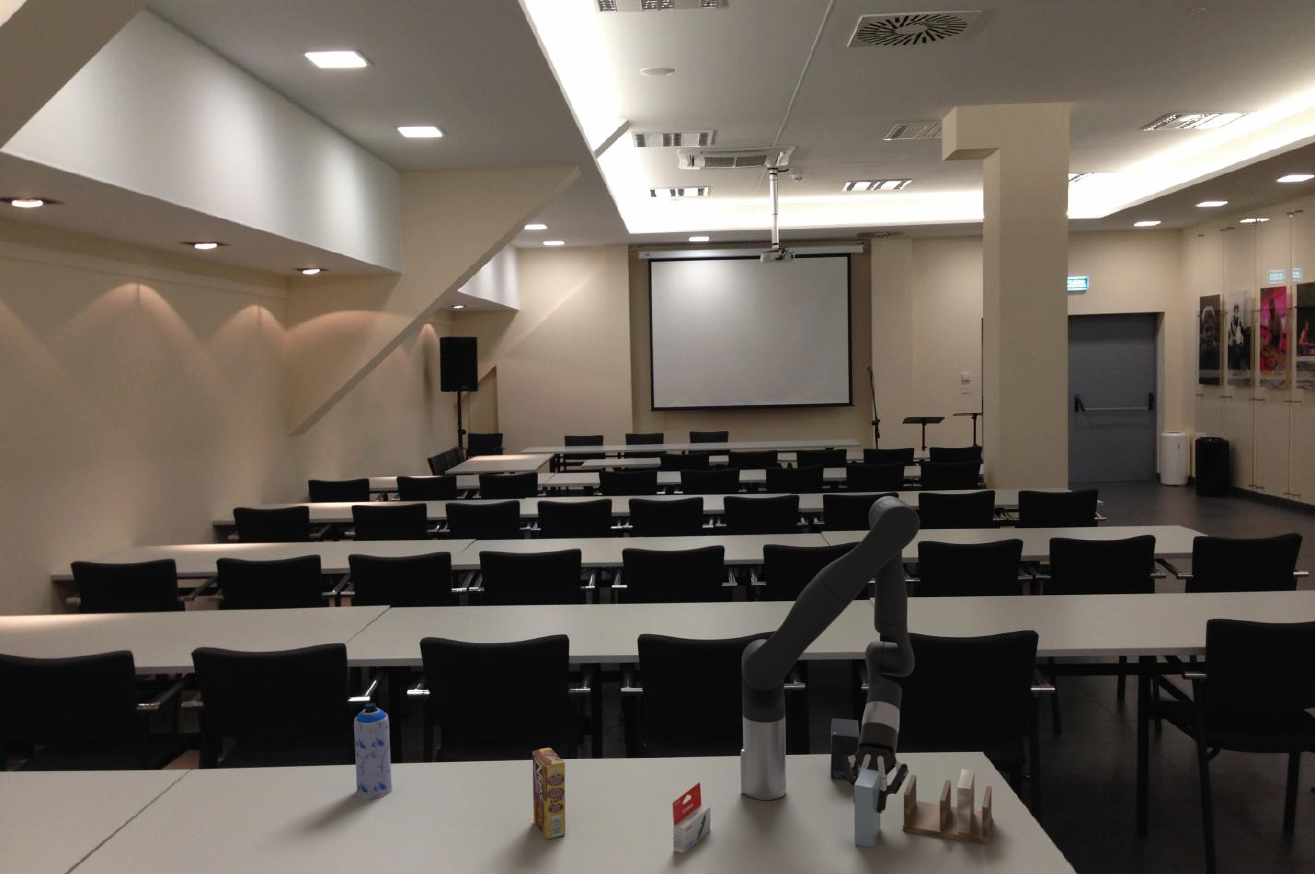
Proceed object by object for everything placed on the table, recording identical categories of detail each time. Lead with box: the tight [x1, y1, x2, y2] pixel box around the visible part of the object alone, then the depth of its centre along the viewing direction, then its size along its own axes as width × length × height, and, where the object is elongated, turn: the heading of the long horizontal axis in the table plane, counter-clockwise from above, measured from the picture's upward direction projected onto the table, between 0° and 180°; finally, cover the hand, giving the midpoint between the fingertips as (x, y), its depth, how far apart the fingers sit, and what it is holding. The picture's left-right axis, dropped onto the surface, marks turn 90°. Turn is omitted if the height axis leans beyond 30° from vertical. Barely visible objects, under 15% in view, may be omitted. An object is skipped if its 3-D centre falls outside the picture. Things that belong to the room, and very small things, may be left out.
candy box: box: [532, 747, 566, 840], centre depth 195 cm, size 9×4×15 cm, turn 26°
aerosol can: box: [353, 702, 393, 800], centre depth 214 cm, size 8×8×20 cm
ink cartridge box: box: [672, 781, 711, 854], centre depth 189 cm, size 2×11×10 cm, turn 148°
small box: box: [830, 717, 860, 781], centre depth 220 cm, size 11×6×10 cm, turn 168°
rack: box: [902, 768, 993, 846], centre depth 193 cm, size 16×12×10 cm
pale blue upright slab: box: [854, 769, 882, 848], centre depth 189 cm, size 4×8×12 cm, turn 156°
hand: (868, 809), depth 190 cm, fingers closed on pale blue upright slab, 3 cm apart
